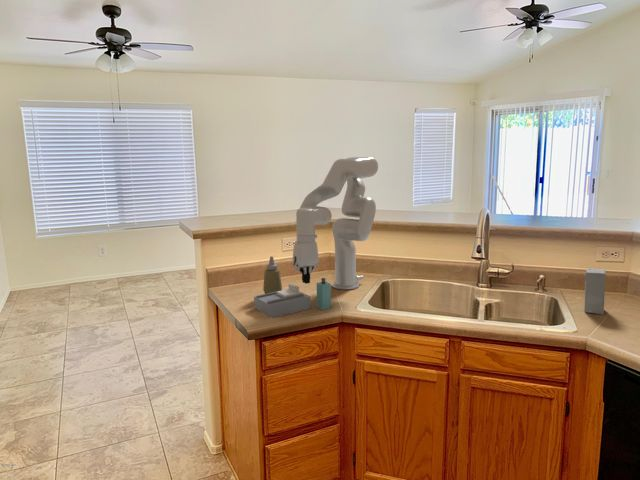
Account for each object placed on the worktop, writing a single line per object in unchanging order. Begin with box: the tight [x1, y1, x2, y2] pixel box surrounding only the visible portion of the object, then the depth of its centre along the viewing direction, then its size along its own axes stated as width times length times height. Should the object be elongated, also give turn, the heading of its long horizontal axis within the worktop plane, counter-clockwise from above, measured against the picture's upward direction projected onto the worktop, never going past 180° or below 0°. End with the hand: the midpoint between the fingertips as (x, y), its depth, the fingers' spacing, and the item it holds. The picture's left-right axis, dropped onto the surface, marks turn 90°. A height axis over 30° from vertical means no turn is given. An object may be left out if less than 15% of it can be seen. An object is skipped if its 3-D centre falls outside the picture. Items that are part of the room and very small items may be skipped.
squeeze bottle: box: [263, 256, 283, 294], centre depth 199 cm, size 8×8×18 cm
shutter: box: [277, 283, 301, 298], centre depth 187 cm, size 7×7×3 cm
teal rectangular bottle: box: [316, 277, 332, 310], centre depth 186 cm, size 4×4×12 cm
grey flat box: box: [253, 288, 312, 319], centre depth 186 cm, size 18×14×6 cm
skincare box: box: [584, 268, 607, 315], centre depth 177 cm, size 8×7×16 cm
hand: (306, 282), depth 191 cm, fingers closed
